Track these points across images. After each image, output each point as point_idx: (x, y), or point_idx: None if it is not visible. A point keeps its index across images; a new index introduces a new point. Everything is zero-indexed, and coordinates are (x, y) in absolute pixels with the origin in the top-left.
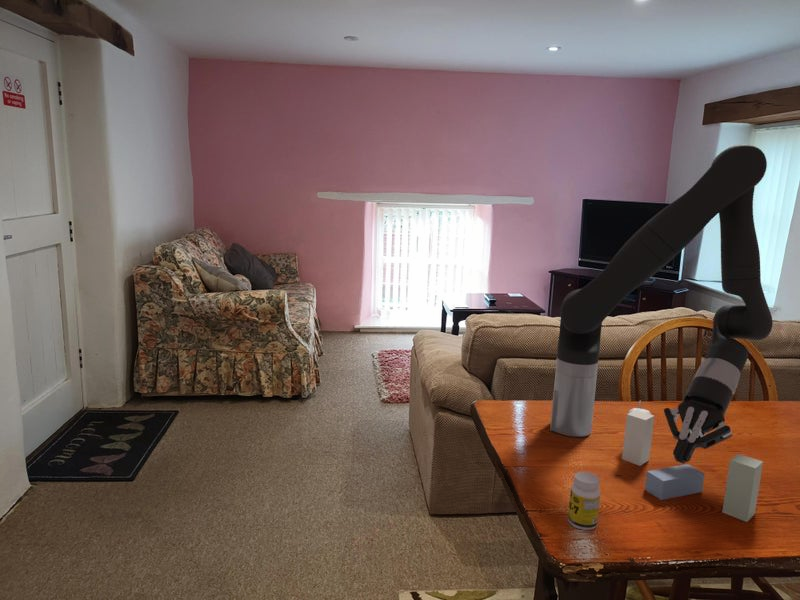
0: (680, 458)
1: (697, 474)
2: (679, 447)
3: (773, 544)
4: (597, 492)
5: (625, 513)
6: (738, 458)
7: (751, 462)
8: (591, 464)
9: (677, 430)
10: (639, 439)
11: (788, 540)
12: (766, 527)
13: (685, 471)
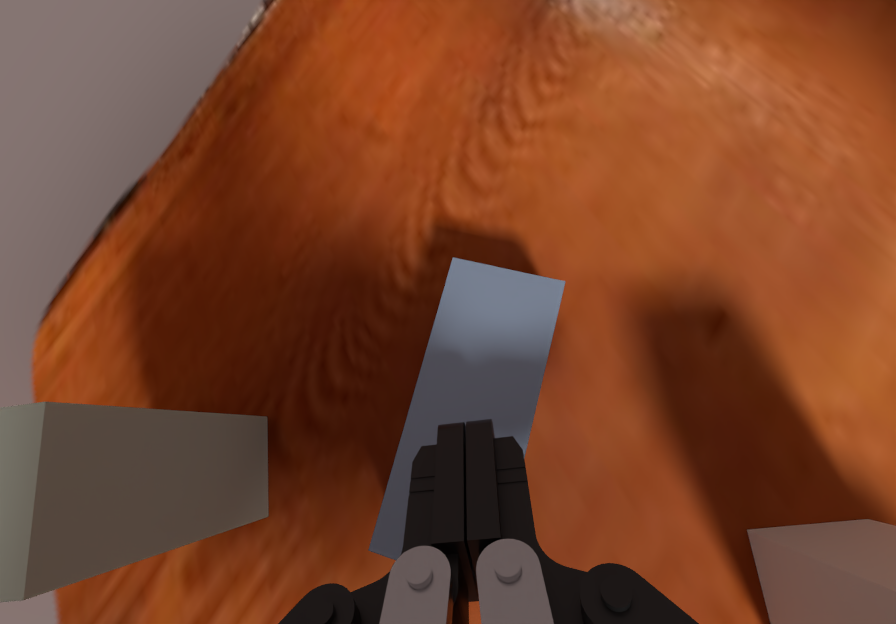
0: (451, 424)
1: (387, 497)
2: (487, 475)
3: (82, 353)
4: None
5: (480, 92)
6: (5, 494)
7: None
8: (879, 302)
9: (592, 617)
10: (888, 571)
11: None
12: None
13: None
